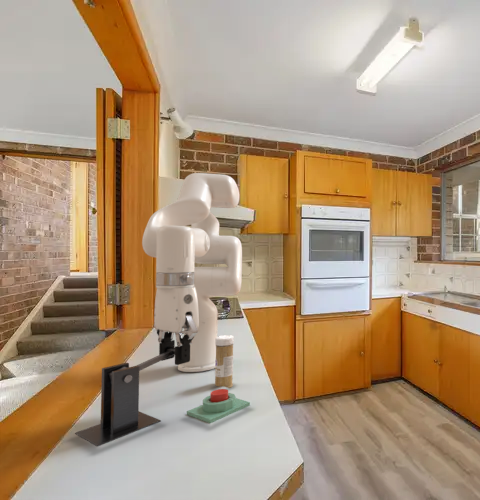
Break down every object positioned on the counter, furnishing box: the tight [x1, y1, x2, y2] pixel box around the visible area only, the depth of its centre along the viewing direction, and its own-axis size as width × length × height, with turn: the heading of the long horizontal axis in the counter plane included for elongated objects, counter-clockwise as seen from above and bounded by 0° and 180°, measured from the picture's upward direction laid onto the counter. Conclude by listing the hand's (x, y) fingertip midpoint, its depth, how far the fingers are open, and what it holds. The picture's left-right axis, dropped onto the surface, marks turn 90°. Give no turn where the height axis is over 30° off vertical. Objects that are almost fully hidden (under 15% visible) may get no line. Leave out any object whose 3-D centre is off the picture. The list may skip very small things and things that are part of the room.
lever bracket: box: [74, 362, 162, 447], centre depth 69 cm, size 11×9×13 cm
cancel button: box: [209, 388, 229, 402], centre depth 77 cm, size 4×4×2 cm
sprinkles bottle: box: [214, 334, 235, 389], centre depth 93 cm, size 5×5×14 cm
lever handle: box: [109, 347, 175, 384], centre depth 74 cm, size 13×5×2 cm, turn 151°
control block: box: [186, 392, 251, 424], centre depth 77 cm, size 10×8×4 cm
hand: (174, 360), depth 79 cm, fingers closed on lever handle, 5 cm apart
